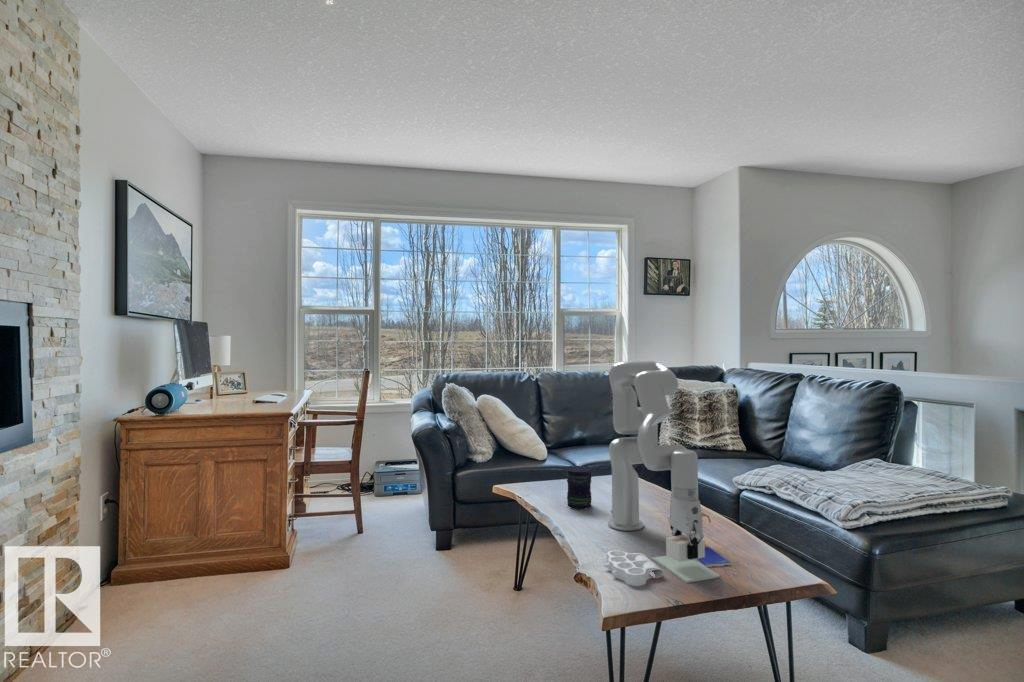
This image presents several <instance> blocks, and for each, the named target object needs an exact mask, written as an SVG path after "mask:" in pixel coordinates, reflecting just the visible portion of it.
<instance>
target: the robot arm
mask: <svg viewBox="0 0 1024 682" xmlns="http://www.w3.org/2000/svg"><path fill="white" fill-rule="evenodd" d="M608 378H609V385H610V387H611V388H610V389H611V393H612V399H613V400H612V419H613V420H612V424H613V429H614V431H615V432H616V433H617V434H621V435H637V436H634V437H633V436H630V437H629V436H628V437H618V438H615V439H613V440H612V441H611V442H610V443H609V447H608V454H609V459H610V467H611V509H610V511H609V512H610V514H611V518H610V519H608V520H607V525H608V527H610V528H612V529H614V530H618V531H624V532H625V531H627V532H629V531H631V532H632V531H633V532H634V531H638V530H642V529H643V528H644V527H645V526H644V521H642V520H641V519H640V489H639V488H640V482H639V481H640V479H639V475H638V472H637V471H636V470H635V468H634V467H633V465H637V464H638V465H639V464H643V465H644V466H645V468H646V469H647V470H649V471H653V472H660V471H670V484H671V487H670V490H671V491H670V492H671V495H670V496H671V497H670V506H669V518H668V520H667V522H668V523H669V526H670V530H671V537H673V536H678V535H684V534H686V535H687V539H688V543H689V545H687V558H688V559H694V560H696V559H695V558H698V545H699V542H700V541H701V540H702V539H704V534H703V531H704V530H703V528H704V527H703V523H702V521H703V517H702V513H703V512H702V507H701V501H700V499H699V471H698V470H699V468H698V467H699V466H698V465H699V464H698V462H699V461H698V460H699V459H698V458H699V457H698V454H697V452H696V451H694V450H691V449H688V448H686V447H685V446H684V445H681V444H663V445H662V444H660V445H659V442H658V441H659V439H658V438H659V437H658V433H659V431H658V430H659V424H660V423H661V422H662V423H663V421H665V420H667V418H669V416H670V415H671V409H670V406H669V404H668V400H667V398H666V396H674V395H675V394H676V393H677V392H678V390H679V382H678V381H679V380H678V378H677V375H676V374H675V373H674V372H673V371H672V370H671V369H670V368H668V367H666V366H664V364H661V363H659V362H657V361H652V360H649V361H648V360H645V361H644V360H639V361H638V360H635V361H633V360H632V361H620V362H616V363H614V364H613V365H612V366H611V367H610V370H609V377H608ZM632 386H634V387H632ZM638 402H639V405H640V407H639V406H638ZM692 532H693V533H692ZM691 533H692V534H691ZM691 536H694V538H693V539H691Z"/></svg>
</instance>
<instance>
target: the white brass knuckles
mask: <svg viewBox="0 0 1024 682" xmlns="http://www.w3.org/2000/svg"><path fill="white" fill-rule="evenodd" d="M603 566H604V567H605V568H607V569H608V572H609V571H611V572H612V573H611V572H610V573H611V575H613V577H614V576H615V577H614V578H616V579H617V578H618V580H622V581H623V582H625V584H626V585H628V586H631V585H632V586H633V587H641V585H642V586H644V585H646V584H647V580H651V579H650V578H654V577H653V576H651V575H650V574H649V573H650V572H651V571H652V572H654V574H655V578H657V579H659V578H662V577H663V576H664V573H665V572H664V570H663V568H661V567H659V566H658V565H657V564H656V562H654V561H652V560H651V559H649V558H648V557H647V555H645V554H643V553H642V552H641V553H640V552H631V553H629V552H626V551H623V550H615V549H614V550H610V551H608V552H607V553H606V563H605V564H603Z"/></svg>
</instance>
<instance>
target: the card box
mask: <svg viewBox="0 0 1024 682" xmlns="http://www.w3.org/2000/svg"><path fill="white" fill-rule="evenodd" d="M693 538H694V536H691V539H693ZM705 543H706V540H705V539H704V538H703V539H702V540H701V541H700V542H699V545H698V558H703V557H705V547H706V544H705ZM687 545H689V543H688V539H687V535H686V534H684V533H683V534H682V535H678V536H666V537H665V550H666V551H665V552H666V553H665V554H666V555H665V556H667V555H668V556H670V557H671V558H673V559H675V560H677V561H679V562H682V561H688V560H693V559H688V558H687ZM698 558H695V559H694V560H696V559H698Z"/></svg>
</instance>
